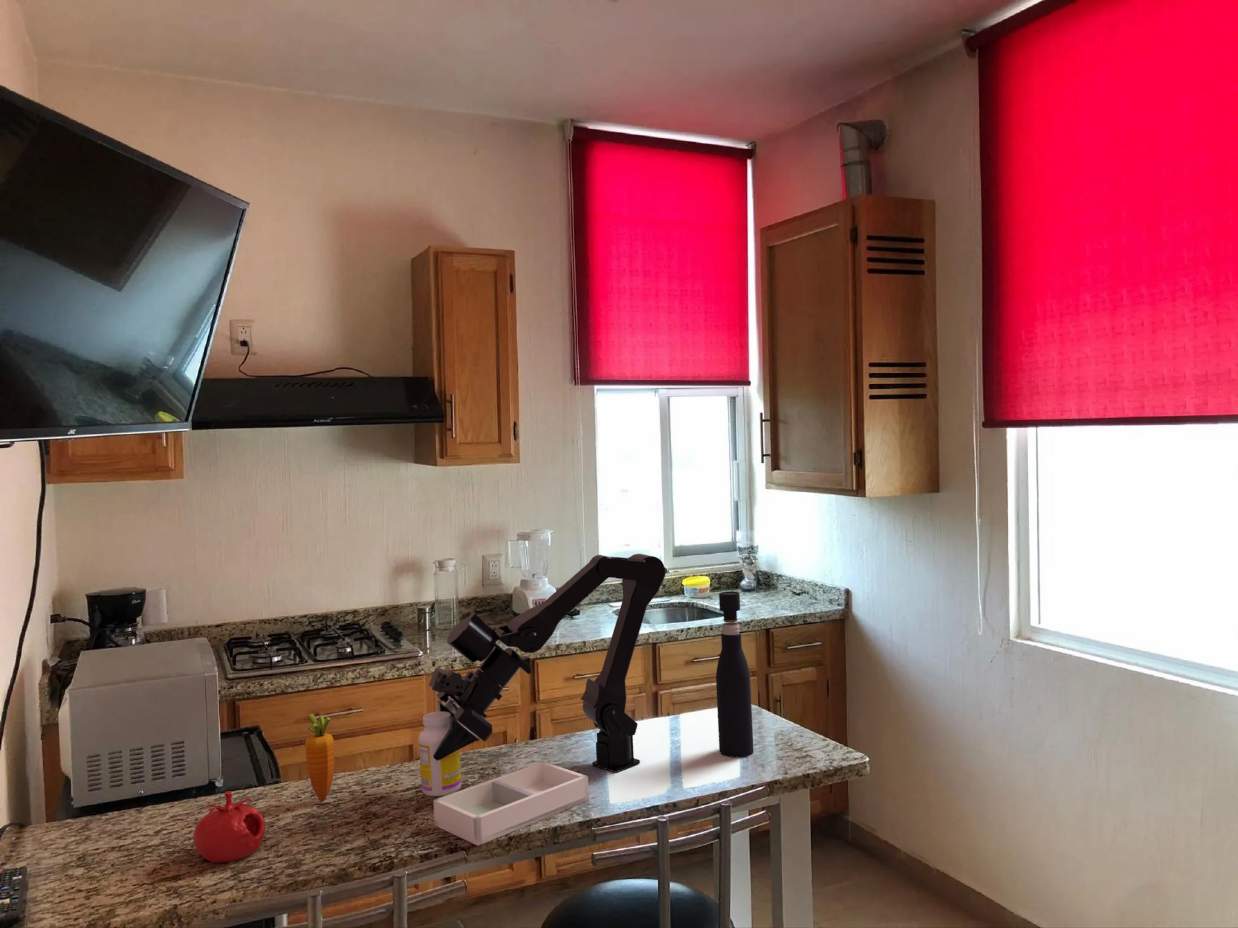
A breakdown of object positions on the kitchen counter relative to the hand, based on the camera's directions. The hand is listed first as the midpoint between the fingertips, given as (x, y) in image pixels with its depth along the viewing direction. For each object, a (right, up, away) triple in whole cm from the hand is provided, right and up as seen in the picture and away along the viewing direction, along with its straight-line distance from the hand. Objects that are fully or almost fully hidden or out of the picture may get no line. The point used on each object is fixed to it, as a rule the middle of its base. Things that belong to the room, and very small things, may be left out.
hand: (431, 752), depth 154 cm
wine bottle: (+54, -5, +17) cm, 57 cm away
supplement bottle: (+2, -7, +1) cm, 7 cm away
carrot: (-19, -9, +2) cm, 21 cm away
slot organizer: (+15, -7, -7) cm, 18 cm away
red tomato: (-26, -10, -18) cm, 33 cm away
